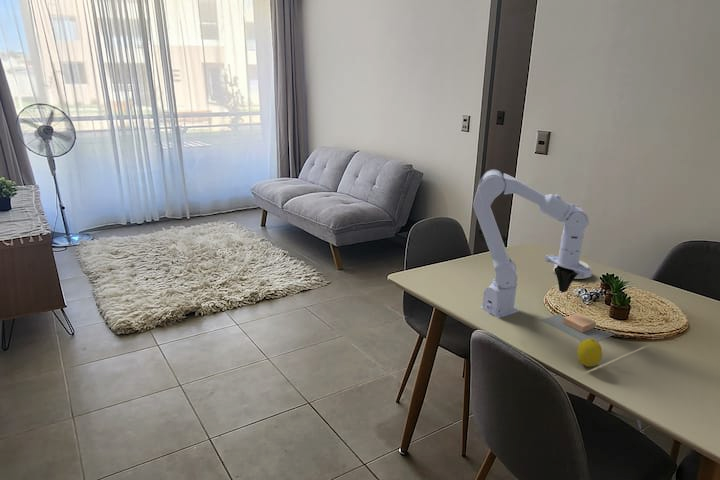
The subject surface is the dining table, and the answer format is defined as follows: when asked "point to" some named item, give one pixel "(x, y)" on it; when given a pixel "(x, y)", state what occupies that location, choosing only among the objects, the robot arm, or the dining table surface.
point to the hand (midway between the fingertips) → (563, 290)
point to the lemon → (589, 352)
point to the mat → (592, 333)
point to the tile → (579, 322)
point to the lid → (578, 274)
